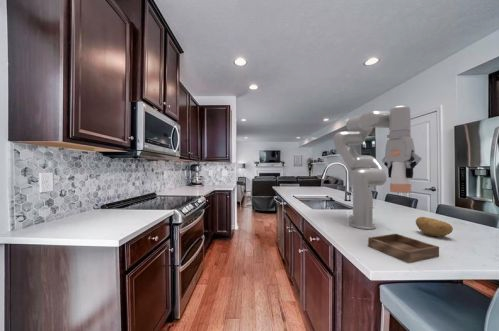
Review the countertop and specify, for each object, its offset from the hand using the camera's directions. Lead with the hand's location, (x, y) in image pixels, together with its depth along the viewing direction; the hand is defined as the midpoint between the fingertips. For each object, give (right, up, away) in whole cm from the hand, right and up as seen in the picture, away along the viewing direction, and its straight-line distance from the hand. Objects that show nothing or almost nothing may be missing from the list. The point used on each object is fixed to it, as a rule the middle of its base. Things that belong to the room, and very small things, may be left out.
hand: (400, 177), depth 91 cm
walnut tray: (-5, -28, -8) cm, 30 cm away
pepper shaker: (0, -6, 0) cm, 6 cm away
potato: (+23, -28, +11) cm, 38 cm away
